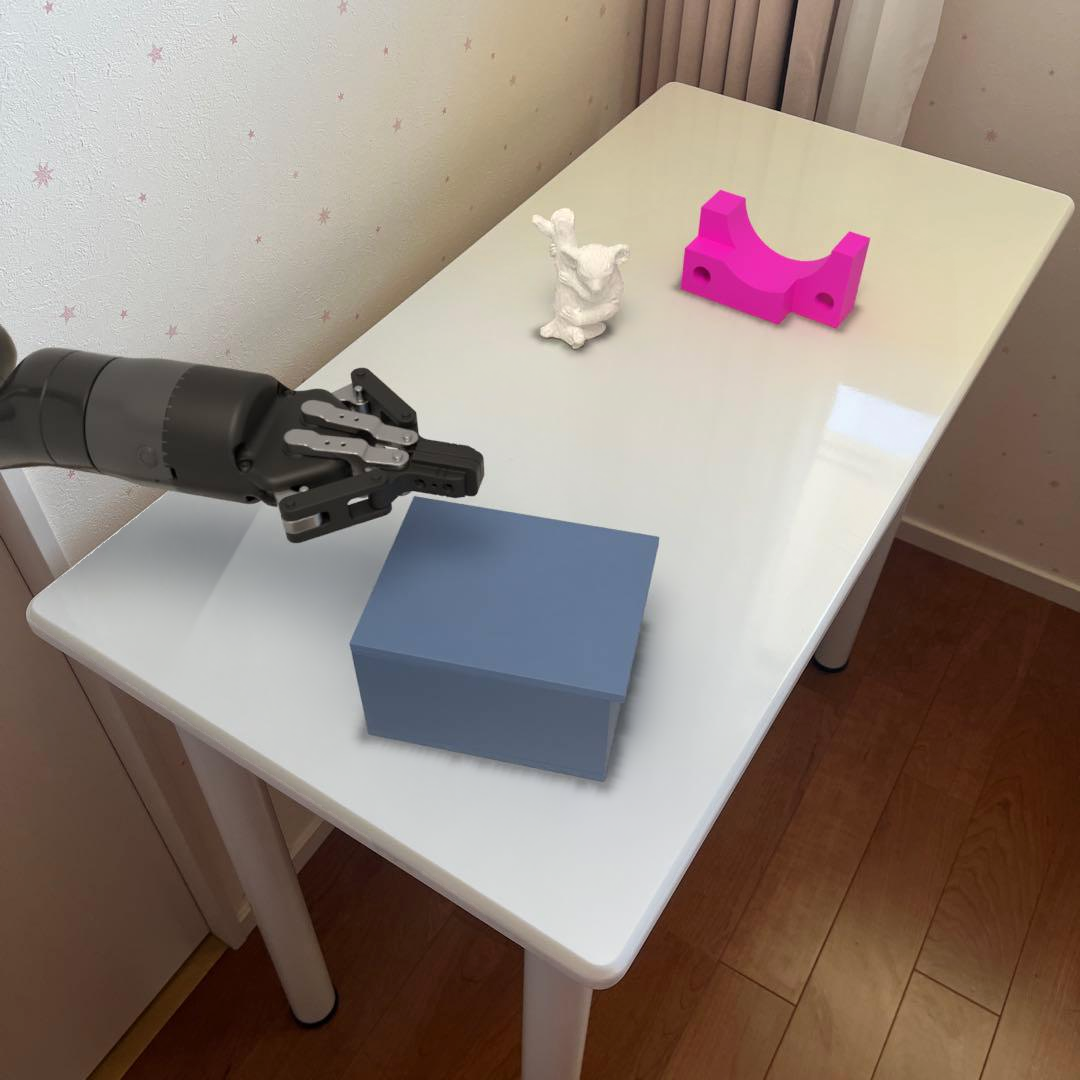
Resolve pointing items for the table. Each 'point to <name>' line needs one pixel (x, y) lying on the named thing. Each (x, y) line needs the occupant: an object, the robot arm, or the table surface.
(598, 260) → the koala figurine
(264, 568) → the table surface
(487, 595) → the box lid
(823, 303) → the magenta pillow block
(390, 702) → the blue box
